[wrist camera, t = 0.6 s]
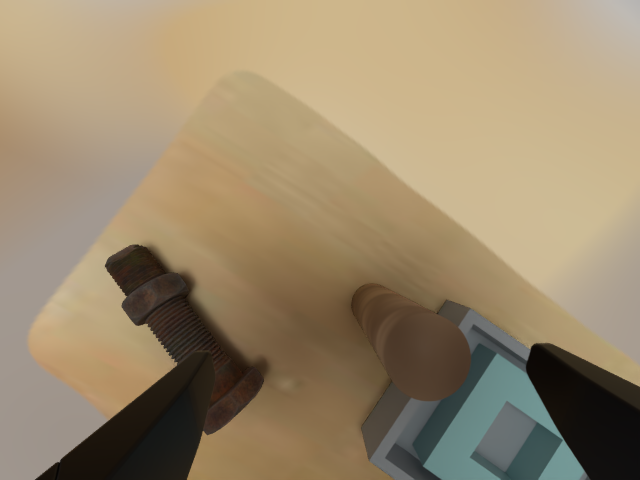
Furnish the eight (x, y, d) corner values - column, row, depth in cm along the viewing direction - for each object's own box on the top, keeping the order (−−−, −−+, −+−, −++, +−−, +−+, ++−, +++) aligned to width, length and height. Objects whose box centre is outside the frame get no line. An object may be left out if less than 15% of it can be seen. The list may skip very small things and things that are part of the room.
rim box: (540, 556, 24) (584, 614, 20) (361, 427, 25) (369, 460, 21) (624, 422, 25) (682, 455, 21) (446, 299, 25) (470, 308, 21)
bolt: (158, 250, 28) (256, 380, 27) (99, 281, 25) (206, 428, 24) (151, 224, 23) (271, 383, 22) (77, 259, 20) (210, 443, 19)
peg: (377, 334, 25) (439, 418, 12) (343, 310, 25) (368, 368, 12) (401, 299, 25) (487, 346, 12) (366, 275, 26) (416, 297, 13)
